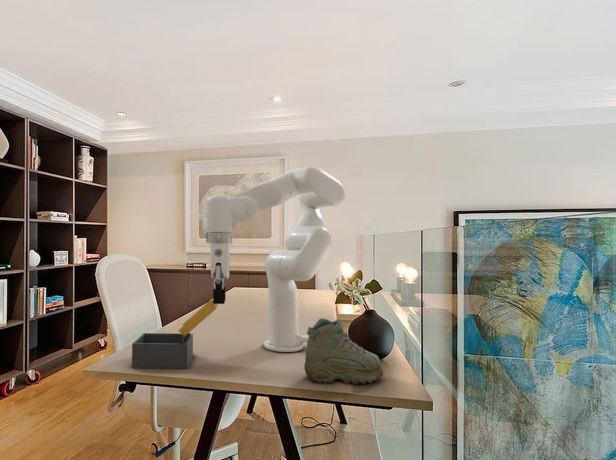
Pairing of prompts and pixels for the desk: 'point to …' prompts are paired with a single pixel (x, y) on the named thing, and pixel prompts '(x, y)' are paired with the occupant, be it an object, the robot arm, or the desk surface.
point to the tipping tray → (198, 317)
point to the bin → (162, 350)
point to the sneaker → (338, 356)
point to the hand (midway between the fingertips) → (219, 301)
